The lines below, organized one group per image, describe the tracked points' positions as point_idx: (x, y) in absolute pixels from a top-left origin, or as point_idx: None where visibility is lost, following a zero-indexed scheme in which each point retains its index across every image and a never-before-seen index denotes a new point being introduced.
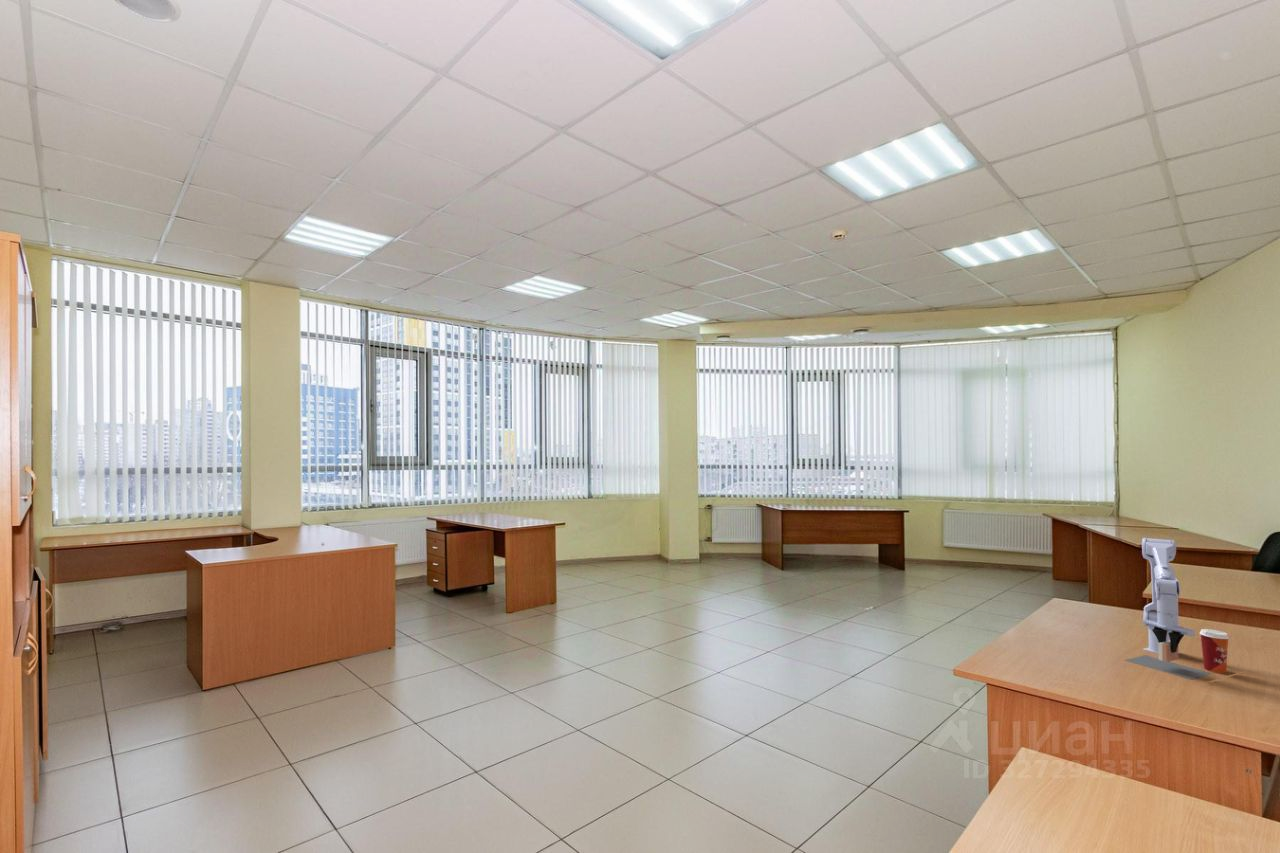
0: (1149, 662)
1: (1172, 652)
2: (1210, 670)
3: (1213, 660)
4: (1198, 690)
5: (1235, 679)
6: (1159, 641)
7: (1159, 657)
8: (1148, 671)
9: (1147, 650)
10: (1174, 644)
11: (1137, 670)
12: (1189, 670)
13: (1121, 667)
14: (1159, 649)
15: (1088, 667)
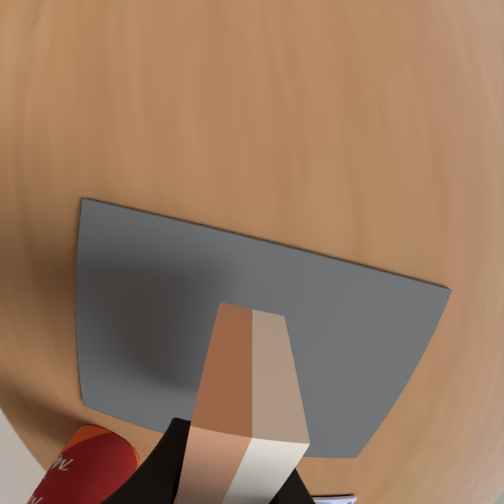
0: (338, 371)
1: (180, 418)
2: (102, 433)
3: (71, 463)
4: (52, 49)
5: (33, 391)
6: (300, 499)
7: (277, 327)
8: (319, 173)
9: (345, 497)
10: (130, 479)
11: (373, 135)
12: (148, 387)
13: (444, 129)
14: (283, 377)
15: (500, 24)
